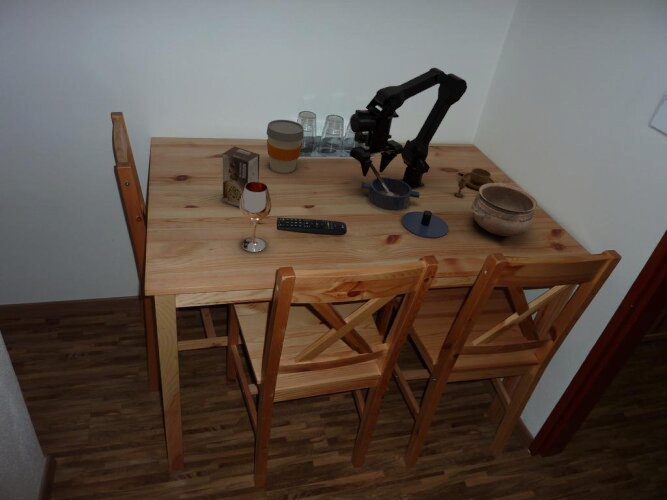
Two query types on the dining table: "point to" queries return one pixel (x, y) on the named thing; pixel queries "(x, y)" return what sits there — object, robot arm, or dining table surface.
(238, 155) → the coffee box
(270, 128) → the reusable coffee cup
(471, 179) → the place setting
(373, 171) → the fork
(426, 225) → the lid
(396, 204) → the saucepan
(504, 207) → the cooking pot
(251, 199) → the wineglass
